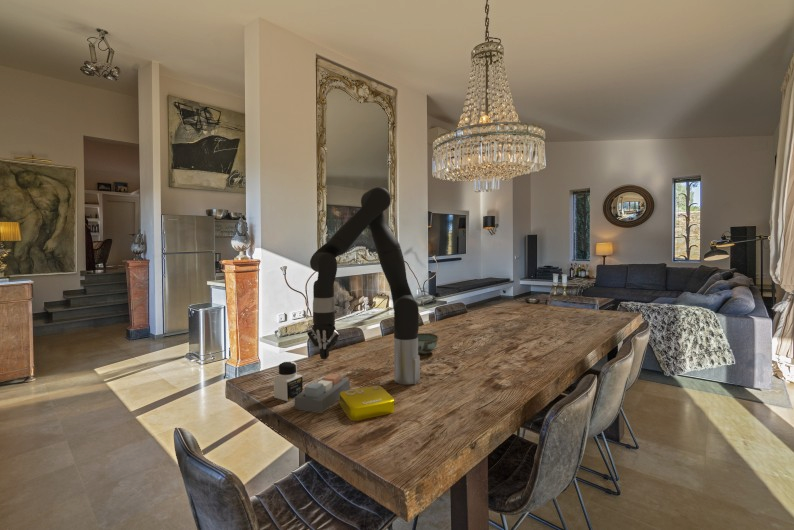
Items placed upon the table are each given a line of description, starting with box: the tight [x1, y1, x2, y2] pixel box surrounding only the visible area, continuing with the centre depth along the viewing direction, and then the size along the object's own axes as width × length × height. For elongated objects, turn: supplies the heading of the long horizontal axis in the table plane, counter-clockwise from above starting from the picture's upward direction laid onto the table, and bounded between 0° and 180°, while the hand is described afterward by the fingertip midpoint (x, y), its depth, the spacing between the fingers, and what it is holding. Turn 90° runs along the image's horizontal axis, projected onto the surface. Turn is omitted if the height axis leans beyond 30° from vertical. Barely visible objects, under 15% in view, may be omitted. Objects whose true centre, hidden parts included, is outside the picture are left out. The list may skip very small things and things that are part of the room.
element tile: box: [339, 384, 395, 421], centre depth 127 cm, size 15×15×5 cm
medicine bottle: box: [273, 360, 304, 402], centre depth 136 cm, size 7×7×12 cm
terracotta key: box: [322, 373, 341, 385], centre depth 139 cm, size 4×4×4 cm
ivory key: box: [317, 379, 332, 391], centre depth 133 cm, size 4×4×4 cm
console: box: [294, 375, 351, 414], centre depth 134 cm, size 10×20×4 cm, turn 161°
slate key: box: [304, 381, 324, 398], centre depth 128 cm, size 4×4×4 cm
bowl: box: [418, 332, 439, 355], centre depth 187 cm, size 14×13×8 cm
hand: (324, 358), depth 135 cm, fingers closed
